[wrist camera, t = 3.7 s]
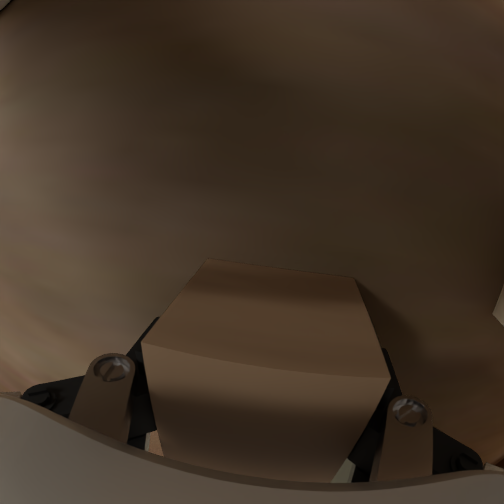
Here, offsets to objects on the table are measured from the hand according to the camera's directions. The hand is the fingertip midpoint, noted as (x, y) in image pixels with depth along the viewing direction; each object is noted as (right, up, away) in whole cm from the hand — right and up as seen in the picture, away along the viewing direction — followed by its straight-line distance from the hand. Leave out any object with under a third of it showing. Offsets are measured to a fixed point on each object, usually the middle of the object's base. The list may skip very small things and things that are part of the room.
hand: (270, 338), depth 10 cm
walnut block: (0, 0, 0) cm, 1 cm away
